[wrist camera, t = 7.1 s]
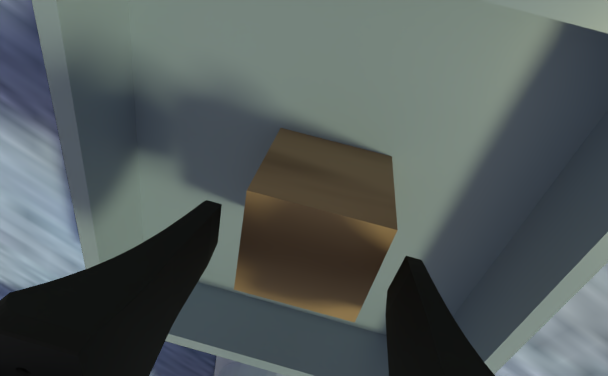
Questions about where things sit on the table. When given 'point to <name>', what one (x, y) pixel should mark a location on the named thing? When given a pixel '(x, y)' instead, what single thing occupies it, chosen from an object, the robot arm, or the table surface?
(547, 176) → the slate bin
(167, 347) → the table surface
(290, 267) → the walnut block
